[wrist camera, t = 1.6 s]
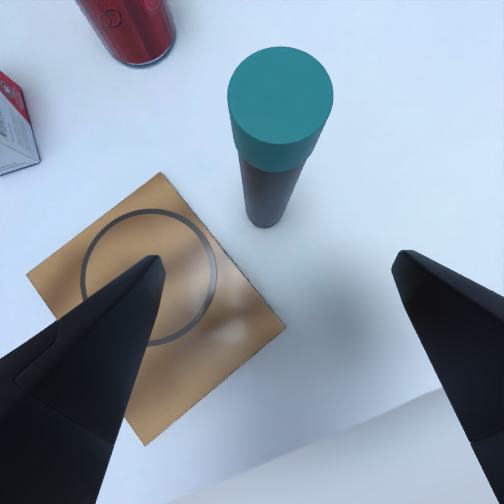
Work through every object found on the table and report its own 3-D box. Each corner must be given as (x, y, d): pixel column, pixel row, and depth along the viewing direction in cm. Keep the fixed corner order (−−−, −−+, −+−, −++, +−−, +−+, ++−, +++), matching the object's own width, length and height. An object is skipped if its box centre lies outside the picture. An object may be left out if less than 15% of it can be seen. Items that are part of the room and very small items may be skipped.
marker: (290, 215, 21) (356, 100, 7) (261, 238, 21) (273, 165, 7) (266, 188, 22) (286, 26, 8) (238, 210, 21) (205, 87, 7)
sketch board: (285, 326, 20) (286, 328, 19) (148, 441, 19) (143, 448, 19) (162, 174, 22) (159, 170, 21) (31, 274, 21) (23, 274, 20)
